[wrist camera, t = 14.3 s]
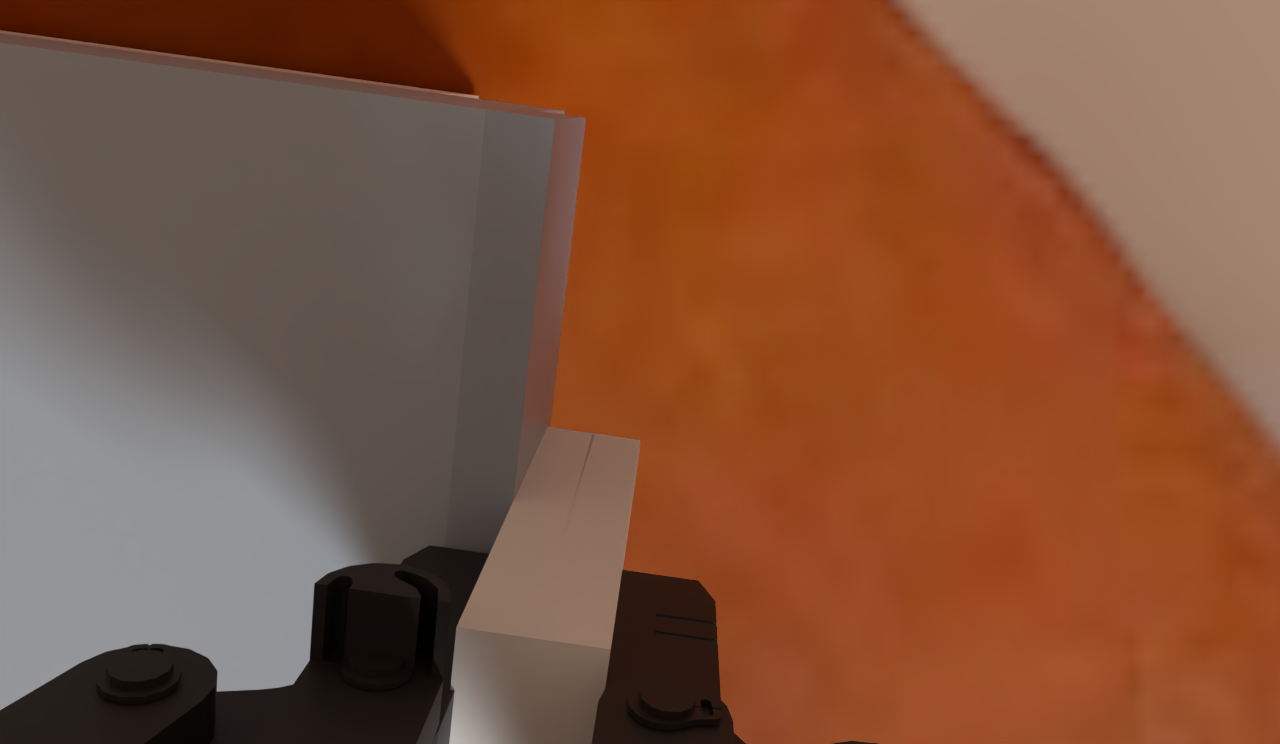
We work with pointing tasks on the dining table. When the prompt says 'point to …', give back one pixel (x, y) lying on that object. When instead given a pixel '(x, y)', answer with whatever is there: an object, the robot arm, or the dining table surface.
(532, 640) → the robot arm
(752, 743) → the dining table surface
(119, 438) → the lid
